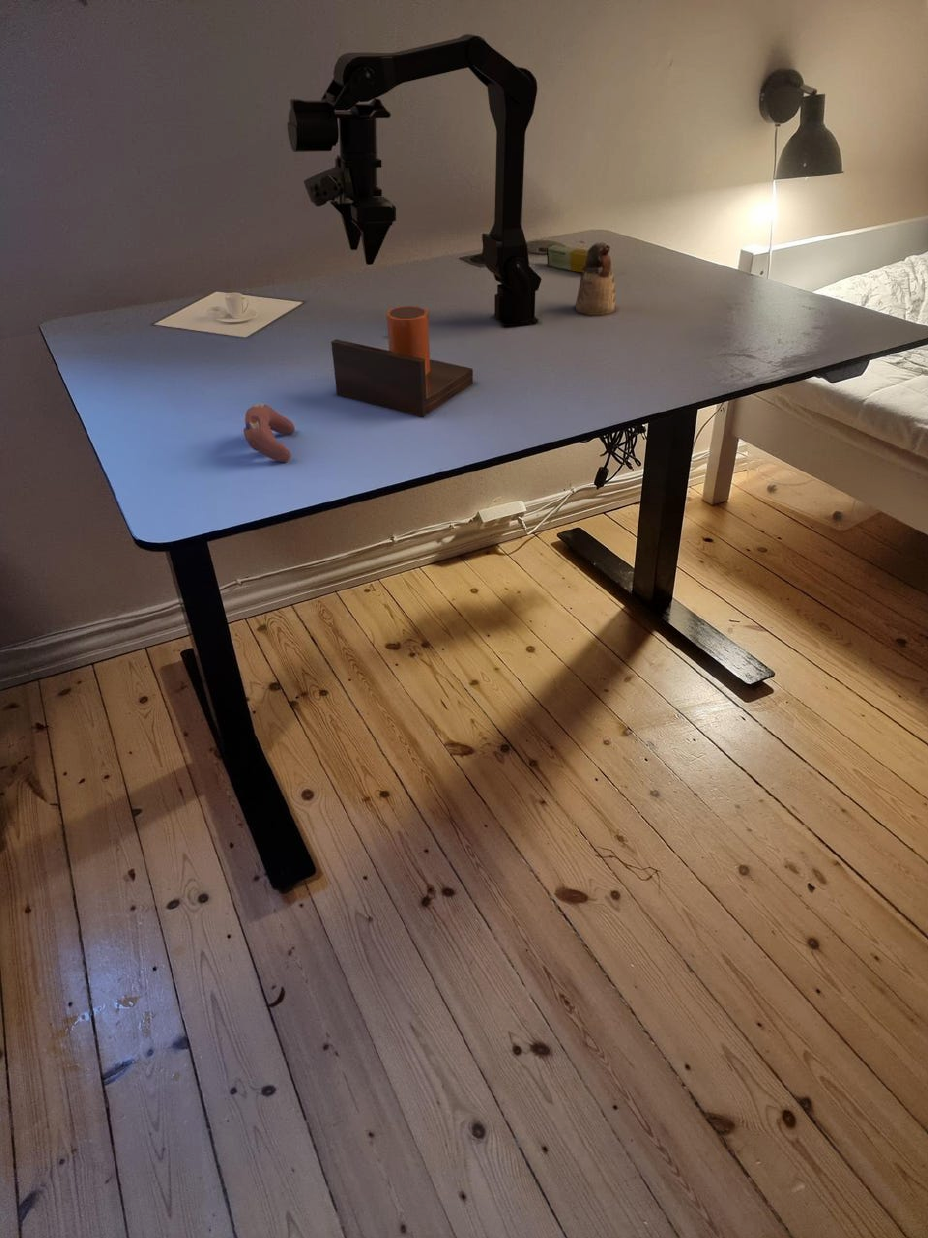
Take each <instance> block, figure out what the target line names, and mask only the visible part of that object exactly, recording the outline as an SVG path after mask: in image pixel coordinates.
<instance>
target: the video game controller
mask: <svg viewBox="0 0 928 1238" xmlns="http://www.w3.org/2000/svg"><path fill="white" fill-rule="evenodd" d="M245 412H246V413H245V417H244V423H245V424H244V425H245V427H244V428H243V435H244V438H245V440H246V442H247V443H248V445H249V446H250V447H251V449H253V450H254V451H256V452H259V453H260V454H262V455H263V456H265V457H267V458H268V459H270V460H273V461H275V462H280V463H287V462H289V461H290V460H291V455H292V454H291V451H290V450H289V449H288V447H286V446H285V445H284V444H282V443H280V442H279V441H277V440H276V438H275V435H274V432H275V433H277V434H281V435H292V434H293V433H294V432H295V430H296V429H295V424H294V423H293V422H292V421H291V420H290V419H289V418H288V417H286V416H285V415H283V414H281V413H278V412H277V411H275V410H274V409H273V408H272V407H270V406H269V405H267V404H264V402H261V403H260V404H254V406H251V407H249V408H248V409H247V410H246V411H245Z"/></svg>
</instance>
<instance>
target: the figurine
mask: <svg viewBox="0 0 928 1238" xmlns="http://www.w3.org/2000/svg"><path fill="white" fill-rule="evenodd" d="M587 250H588V255H587V259H586V263H585V266H583V267H582V270H583V271H584V272H583V273H582V272H581V275H580V279H579V286H578V292H577V297H576V303H575V307H576V311H577V312H578V313H580V314H583V315H587V316H606V315H610V314H612V313H614V311H615V308H616V285H615V276H614V272H613V270H612V268H611V265H612V264H611V263H612V261H611V256H610V255H609V253H610V250H611V247H610V245H608V244H607V243H606V242H604V241H597V242H595V244H593V245H591V246H590V247H589V249H587Z"/></svg>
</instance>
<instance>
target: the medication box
mask: <svg viewBox="0 0 928 1238" xmlns="http://www.w3.org/2000/svg"><path fill="white" fill-rule="evenodd" d="M588 250H589V249H584V248H578V247H574V246H567V245H562V244H557V243H552V244H550V245H549V246H547V247H546V256H547V267H554V268H559V269H564V270H568V271H573V272H578V273H581V274H582V273H583V272H584V271H583V270H582V267H583V266H585V263H586V259H587V255H588Z"/></svg>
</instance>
